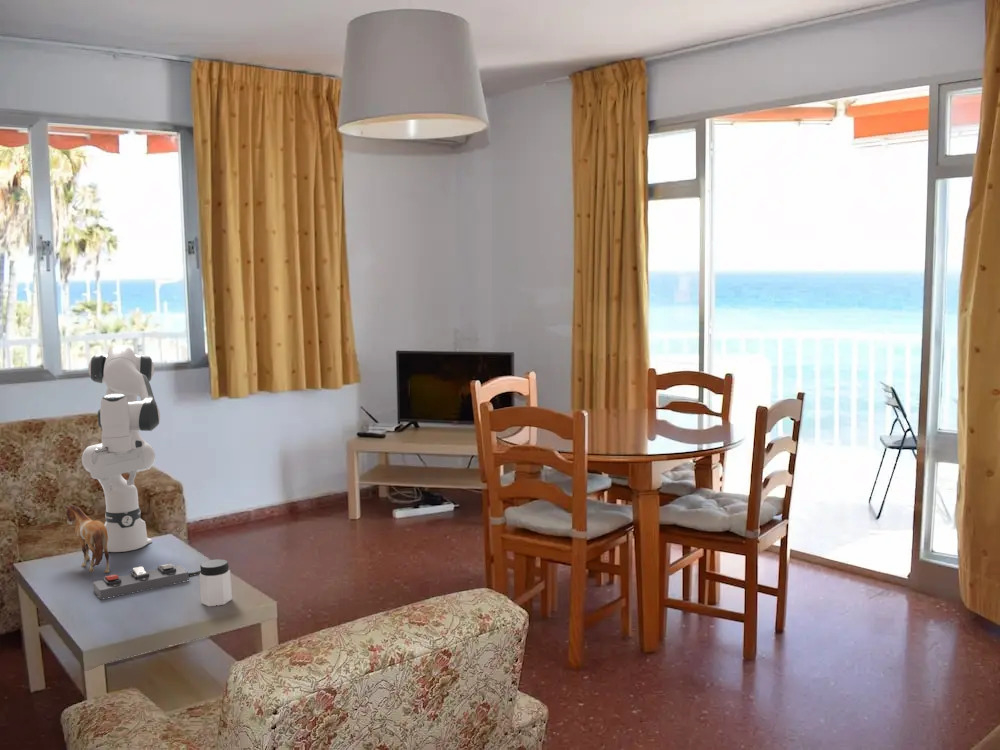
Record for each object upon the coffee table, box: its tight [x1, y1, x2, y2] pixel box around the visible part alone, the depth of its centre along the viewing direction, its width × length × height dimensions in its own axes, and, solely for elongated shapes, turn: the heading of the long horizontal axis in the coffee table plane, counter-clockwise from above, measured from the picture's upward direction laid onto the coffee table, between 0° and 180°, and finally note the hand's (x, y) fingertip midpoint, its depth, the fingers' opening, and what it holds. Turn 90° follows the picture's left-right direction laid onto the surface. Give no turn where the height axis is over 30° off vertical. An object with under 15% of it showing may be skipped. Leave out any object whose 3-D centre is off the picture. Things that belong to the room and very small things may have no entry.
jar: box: [198, 558, 233, 607], centre depth 281 cm, size 9×8×12 cm
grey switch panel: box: [92, 564, 201, 600], centre depth 299 cm, size 10×34×4 cm, turn 125°
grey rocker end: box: [159, 563, 174, 570], centre depth 303 cm, size 5×3×2 cm, turn 35°
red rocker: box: [104, 574, 119, 581], centre depth 293 cm, size 5×3×2 cm, turn 35°
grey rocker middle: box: [132, 566, 146, 576], centre depth 298 cm, size 5×3×2 cm, turn 35°
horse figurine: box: [63, 504, 111, 574], centre depth 316 cm, size 31×8×21 cm, turn 39°
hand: (119, 487), depth 296 cm, fingers open, 8 cm apart
